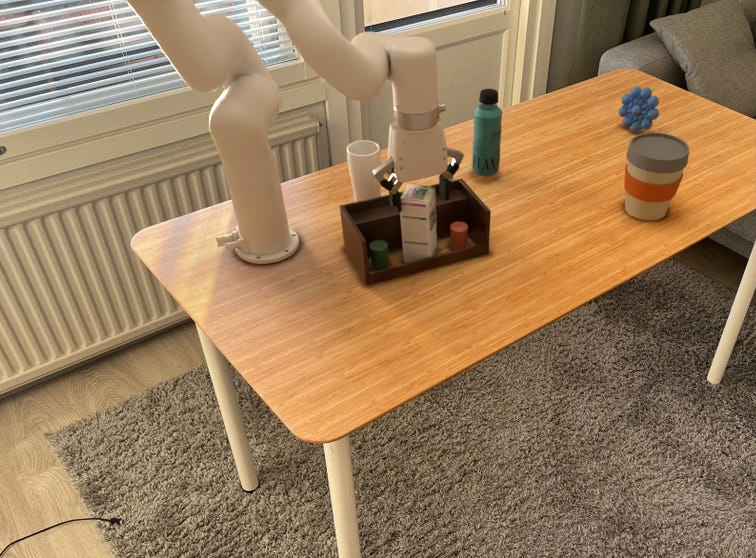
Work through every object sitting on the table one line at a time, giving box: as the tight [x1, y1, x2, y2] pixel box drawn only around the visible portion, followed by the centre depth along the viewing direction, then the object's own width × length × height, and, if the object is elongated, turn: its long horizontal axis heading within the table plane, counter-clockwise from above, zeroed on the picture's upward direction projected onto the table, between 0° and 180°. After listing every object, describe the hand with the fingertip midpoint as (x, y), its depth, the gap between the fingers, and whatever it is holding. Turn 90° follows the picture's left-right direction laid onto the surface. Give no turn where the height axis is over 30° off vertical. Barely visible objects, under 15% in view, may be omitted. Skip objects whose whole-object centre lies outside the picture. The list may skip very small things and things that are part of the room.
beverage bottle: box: [471, 88, 503, 177], centre depth 158 cm, size 6×7×20 cm
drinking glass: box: [346, 139, 382, 202], centre depth 148 cm, size 7×7×15 cm
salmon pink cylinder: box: [449, 222, 469, 251], centre depth 143 cm, size 4×4×5 cm
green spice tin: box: [369, 240, 390, 272], centre depth 137 cm, size 4×4×5 cm
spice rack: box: [339, 178, 492, 286], centre depth 139 cm, size 26×13×10 cm, turn 115°
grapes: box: [618, 86, 660, 133], centre depth 178 cm, size 12×7×12 cm, turn 42°
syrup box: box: [400, 183, 439, 263], centre depth 137 cm, size 6×6×14 cm
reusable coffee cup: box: [623, 131, 690, 221], centre depth 150 cm, size 13×13×15 cm
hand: (421, 202), depth 133 cm, fingers open, 9 cm apart
